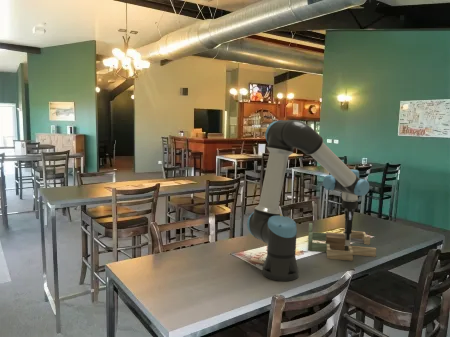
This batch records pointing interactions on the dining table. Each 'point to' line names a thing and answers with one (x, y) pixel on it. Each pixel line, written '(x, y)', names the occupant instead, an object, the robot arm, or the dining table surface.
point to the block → (335, 240)
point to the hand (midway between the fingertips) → (347, 245)
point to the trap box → (338, 254)
